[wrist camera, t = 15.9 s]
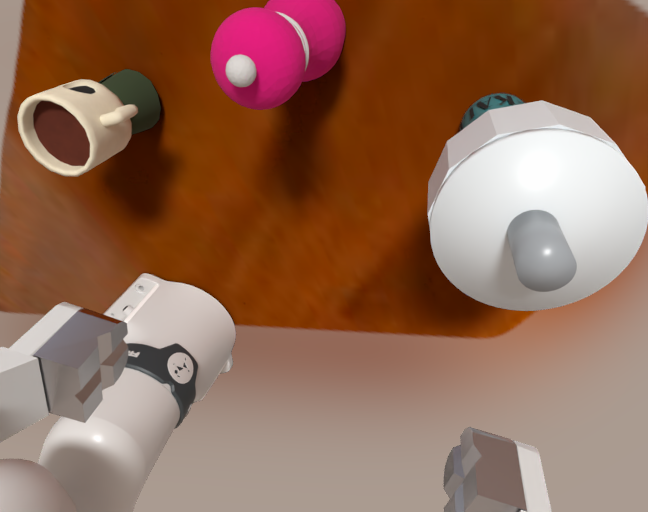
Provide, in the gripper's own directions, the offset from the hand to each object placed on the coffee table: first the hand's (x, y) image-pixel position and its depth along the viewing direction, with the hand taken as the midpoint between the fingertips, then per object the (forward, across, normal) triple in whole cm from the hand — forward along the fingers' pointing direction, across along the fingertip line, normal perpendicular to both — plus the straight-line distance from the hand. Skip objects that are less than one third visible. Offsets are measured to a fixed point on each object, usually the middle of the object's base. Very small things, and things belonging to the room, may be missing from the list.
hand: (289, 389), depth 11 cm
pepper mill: (+39, +9, -1) cm, 40 cm away
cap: (+24, -10, +3) cm, 26 cm away
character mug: (+39, +26, +10) cm, 48 cm away
